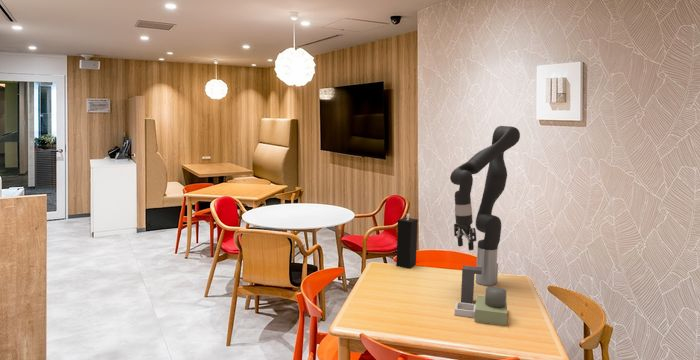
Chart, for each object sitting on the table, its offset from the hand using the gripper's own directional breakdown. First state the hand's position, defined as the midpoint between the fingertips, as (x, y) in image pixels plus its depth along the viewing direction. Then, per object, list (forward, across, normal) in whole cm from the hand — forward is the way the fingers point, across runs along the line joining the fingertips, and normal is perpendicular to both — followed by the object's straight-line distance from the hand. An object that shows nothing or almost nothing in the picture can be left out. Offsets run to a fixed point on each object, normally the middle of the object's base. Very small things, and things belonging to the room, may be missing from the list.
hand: (465, 248), depth 234 cm
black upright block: (+16, +40, +12) cm, 45 cm away
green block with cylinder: (+20, -27, +12) cm, 35 cm away
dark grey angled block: (+19, -14, +8) cm, 25 cm away
